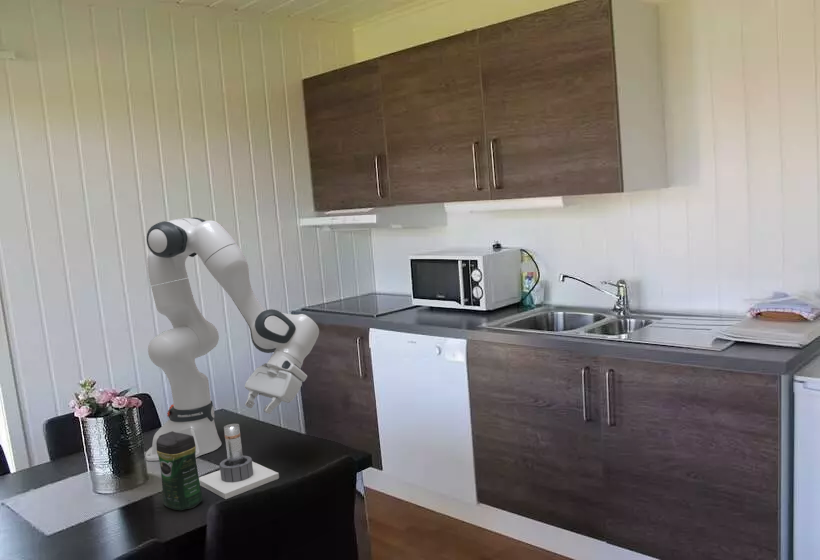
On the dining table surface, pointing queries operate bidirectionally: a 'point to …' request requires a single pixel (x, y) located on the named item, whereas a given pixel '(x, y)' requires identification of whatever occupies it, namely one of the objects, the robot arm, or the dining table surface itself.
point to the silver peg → (233, 444)
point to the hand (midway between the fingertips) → (256, 409)
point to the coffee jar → (179, 470)
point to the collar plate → (237, 486)
